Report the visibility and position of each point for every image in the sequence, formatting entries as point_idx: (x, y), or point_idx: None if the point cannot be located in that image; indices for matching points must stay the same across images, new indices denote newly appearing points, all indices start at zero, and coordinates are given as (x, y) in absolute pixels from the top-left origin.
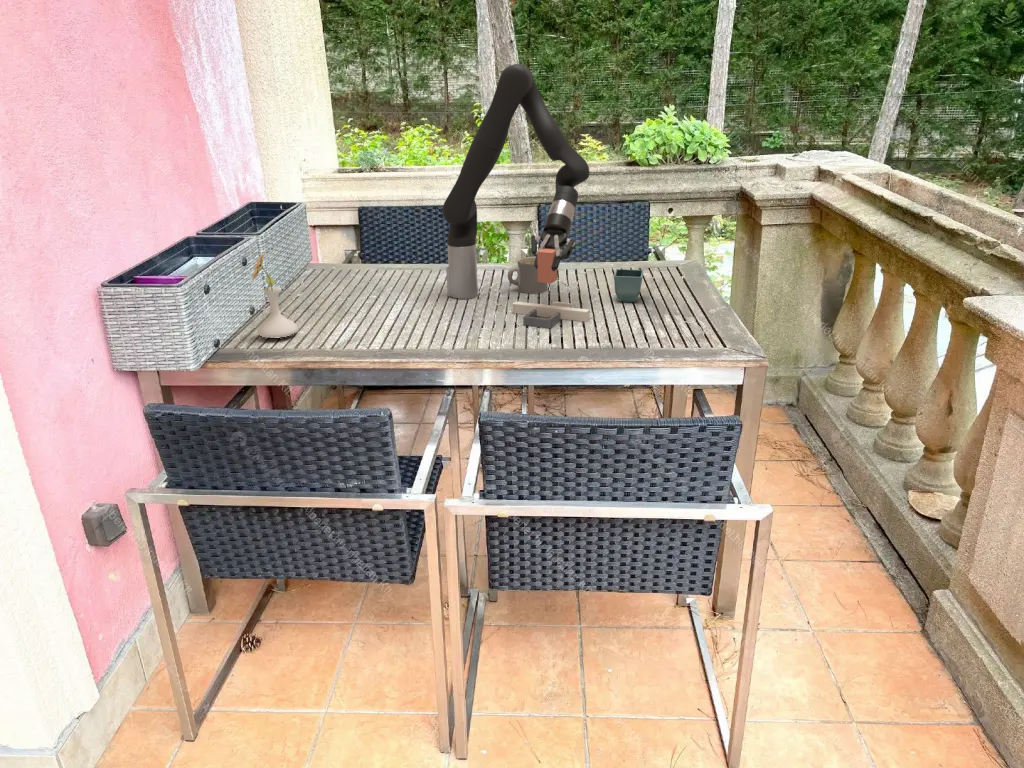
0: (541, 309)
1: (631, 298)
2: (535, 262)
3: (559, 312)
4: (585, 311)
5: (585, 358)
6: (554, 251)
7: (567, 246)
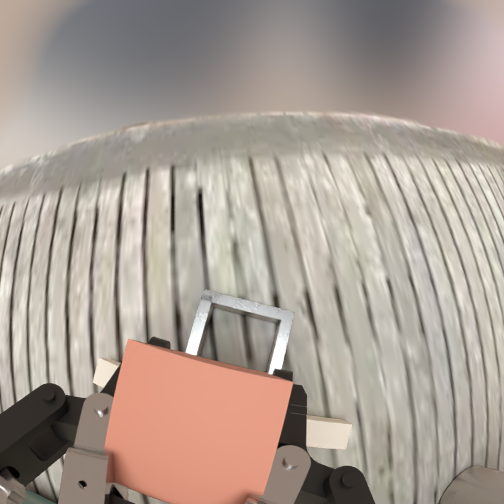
0: None
1: (33, 493)
2: (296, 400)
3: None
4: (102, 364)
5: (135, 134)
6: (112, 405)
7: (4, 434)
